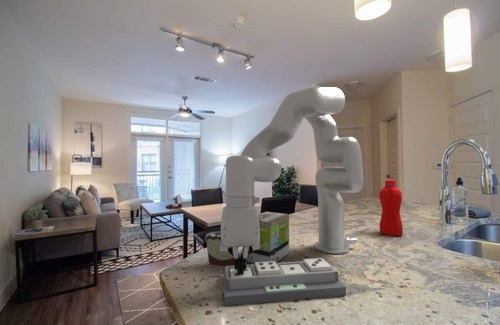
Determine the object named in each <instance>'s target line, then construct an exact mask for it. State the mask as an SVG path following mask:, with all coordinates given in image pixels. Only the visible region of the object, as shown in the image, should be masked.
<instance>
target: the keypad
mask: <svg viewBox="0 0 500 325" xmlns="http://www.w3.org/2000/svg"><path fill="white" fill-rule="evenodd" d="M327 263H328V262H327ZM276 264H277V266H278V267H279V269H280V274H279V275H264V276H257V273H256V270H255V264H254V263H250V264H246V268H247V267H250V268H251V272H252V275H253V276H250V277H236V278H230V269H231V268H235V267H234V266H225V270H223V273H222V274H223V277H222V278H223V295H224V296H223V297H224V299H223V300H224V306H232V305H245V304H256V303H267V302H268V303H270V302H280V301H282V302H283V301H292V300H304V299H317V298H318V299H319V298H327V297H339V296H346V295H347V287H346V285H345V284H343V283H342V282H341V281H340V280H339V271H337V269H335V268H334V267H333V266H332V265H331V264H330V263H328V264H329V265H330V266H331V271H322V272H310V271H309V270H308V269H307V267H306V266H305V265H304V260H302V261H301V260H300V261H284V262H276ZM291 264H299V265H300V266H301V267H302V268H303V270H304V271H305V272H306V273H293V274H284V272H283V271H282V269H281V268H280V265H291Z"/></svg>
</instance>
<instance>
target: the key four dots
mask: <svg viewBox="0 0 500 325" xmlns="http://www.w3.org/2000/svg"><path fill="white" fill-rule="evenodd" d="M276 263H277V262H275V261H270V262H255V270H256V273H257V276H264V275H279V274H280V269H279V267H278V266H277V264H276Z"/></svg>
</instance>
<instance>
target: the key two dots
mask: <svg viewBox="0 0 500 325" xmlns="http://www.w3.org/2000/svg"><path fill="white" fill-rule="evenodd" d="M250 276H253V275H252V272H251V268H250V267H247V268H246V269H244V274H241V273H240V274H238V273H237V270H235V268H231V269H230V278H236V277H250Z"/></svg>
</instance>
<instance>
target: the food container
mask: <svg viewBox="0 0 500 325" xmlns="http://www.w3.org/2000/svg"><path fill="white" fill-rule="evenodd" d="M204 237H205V238H204V241H206V248H207V249H206V250H207V259H208V266H212V267H216V268H217V267H218V268H225V266H234V257H233V256H232V255H231V254H230V253H229V252H225V251H221V250H220V244H221V230H217V231H211V232H209V233H206V234H205V236H204ZM237 250H238V251H239V247H237Z"/></svg>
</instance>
